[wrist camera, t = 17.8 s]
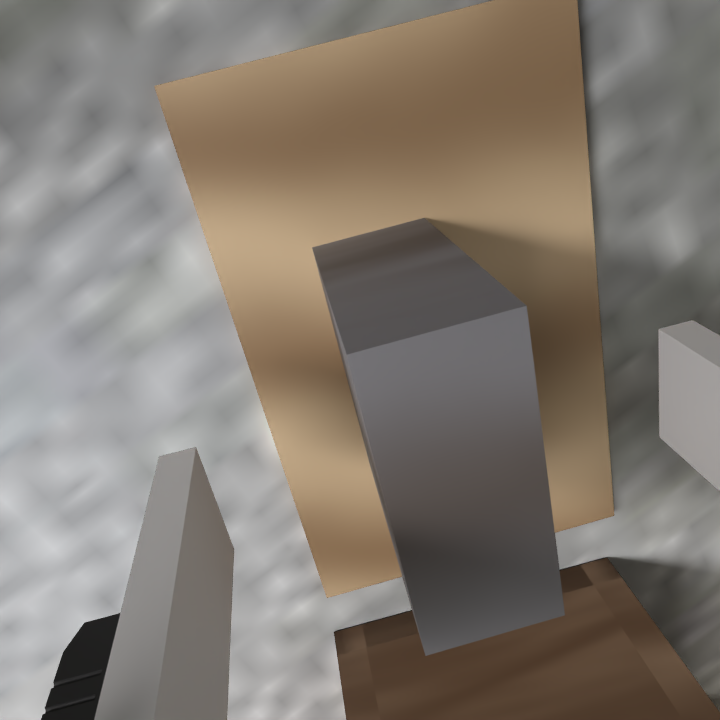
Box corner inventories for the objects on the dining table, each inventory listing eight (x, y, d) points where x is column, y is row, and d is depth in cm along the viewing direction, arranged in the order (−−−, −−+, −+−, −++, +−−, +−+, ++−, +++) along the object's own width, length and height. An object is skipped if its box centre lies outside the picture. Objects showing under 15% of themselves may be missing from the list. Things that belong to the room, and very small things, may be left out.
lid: (158, 85, 15) (77, 95, 8) (560, -17, 16) (809, -89, 9) (324, 580, 22) (356, 818, 15) (602, 501, 23) (760, 696, 15)
